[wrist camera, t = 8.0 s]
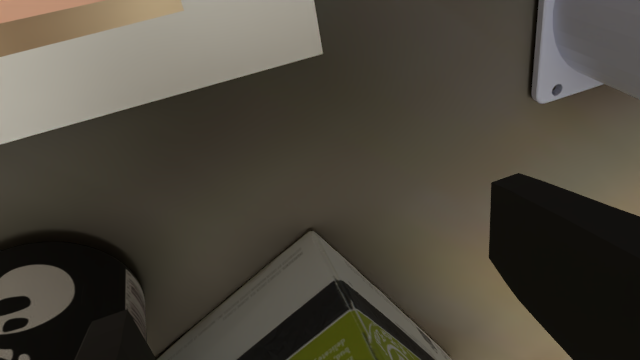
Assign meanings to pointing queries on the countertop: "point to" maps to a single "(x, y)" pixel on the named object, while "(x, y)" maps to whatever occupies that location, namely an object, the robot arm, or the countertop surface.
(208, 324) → the tea box
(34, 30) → the bottom brick
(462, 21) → the countertop surface
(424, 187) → the countertop surface
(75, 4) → the top brick
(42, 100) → the build plate
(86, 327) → the beverage can
